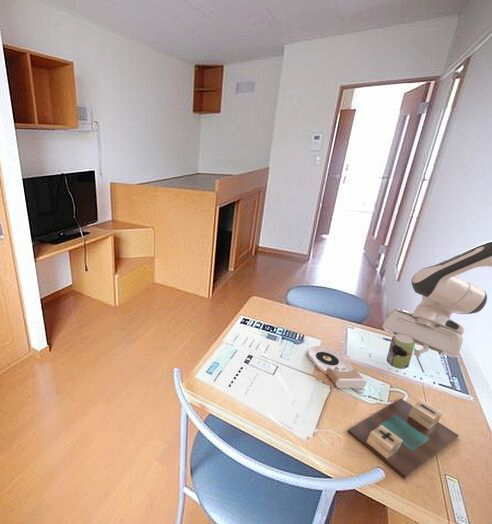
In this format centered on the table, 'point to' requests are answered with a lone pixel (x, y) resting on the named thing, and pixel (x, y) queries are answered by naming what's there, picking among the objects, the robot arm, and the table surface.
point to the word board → (404, 435)
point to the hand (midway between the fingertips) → (410, 353)
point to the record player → (336, 367)
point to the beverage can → (400, 351)
